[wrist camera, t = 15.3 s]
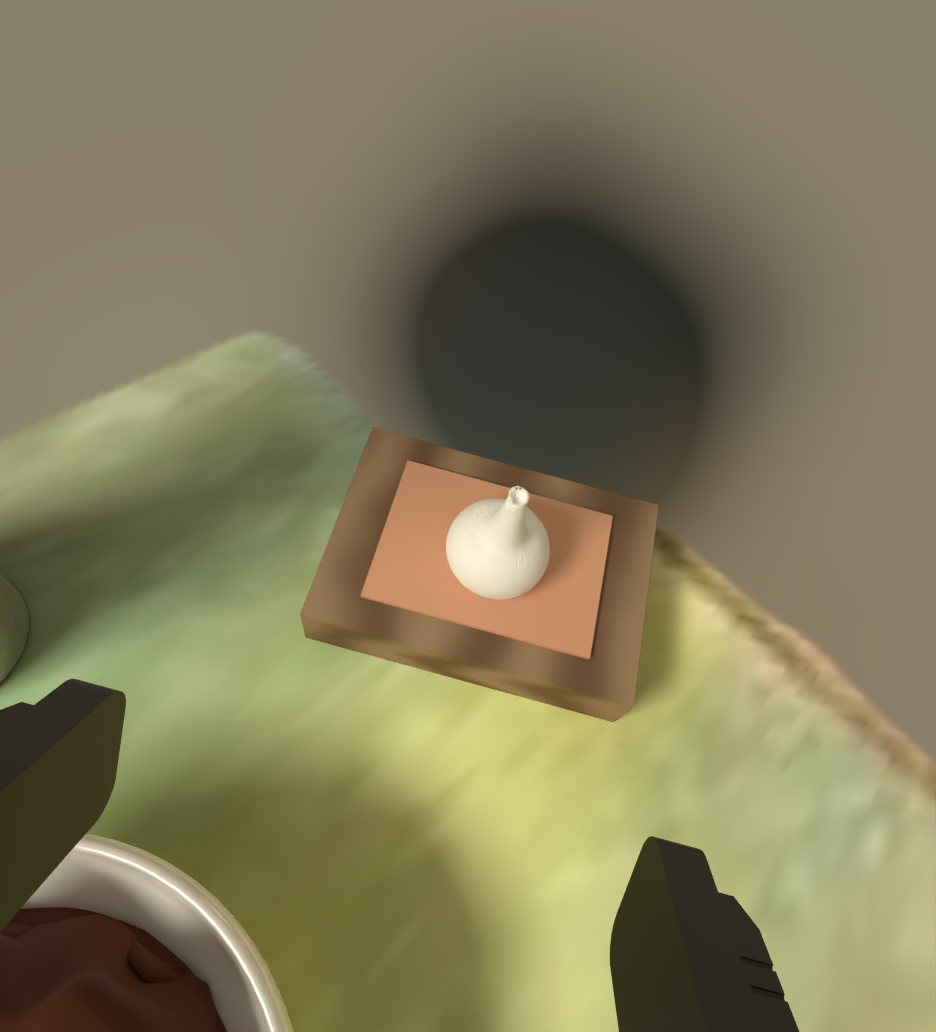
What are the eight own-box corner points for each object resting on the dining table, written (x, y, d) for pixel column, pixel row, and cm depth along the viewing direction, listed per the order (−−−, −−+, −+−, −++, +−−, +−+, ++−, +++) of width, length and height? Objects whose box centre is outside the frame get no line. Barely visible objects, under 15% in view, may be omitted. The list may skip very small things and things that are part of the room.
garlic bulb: (425, 572, 44) (428, 518, 37) (477, 495, 46) (489, 430, 39) (514, 624, 43) (535, 580, 36) (562, 543, 45) (590, 486, 38)
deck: (305, 637, 45) (300, 614, 42) (372, 460, 52) (372, 427, 48) (613, 722, 45) (633, 705, 41) (639, 532, 52) (658, 504, 48)
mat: (360, 597, 42) (360, 595, 42) (407, 462, 47) (407, 460, 47) (588, 659, 42) (590, 658, 42) (611, 517, 47) (612, 515, 47)
